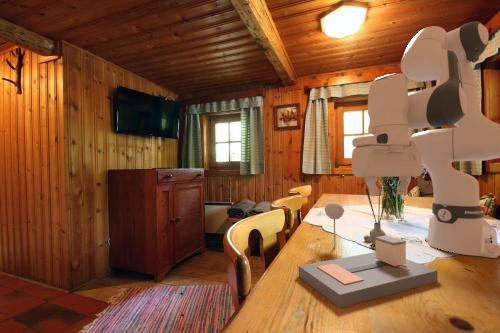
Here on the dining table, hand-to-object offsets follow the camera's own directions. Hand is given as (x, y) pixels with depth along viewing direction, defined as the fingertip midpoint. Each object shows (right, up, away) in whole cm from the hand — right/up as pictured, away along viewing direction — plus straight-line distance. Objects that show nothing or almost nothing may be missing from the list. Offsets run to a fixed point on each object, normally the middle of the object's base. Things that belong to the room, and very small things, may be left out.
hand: (388, 195), depth 58 cm
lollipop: (-6, -20, +20) cm, 29 cm away
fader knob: (0, -16, 0) cm, 16 cm away
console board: (-7, -19, -3) cm, 21 cm away
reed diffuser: (+7, -20, +21) cm, 29 cm away
